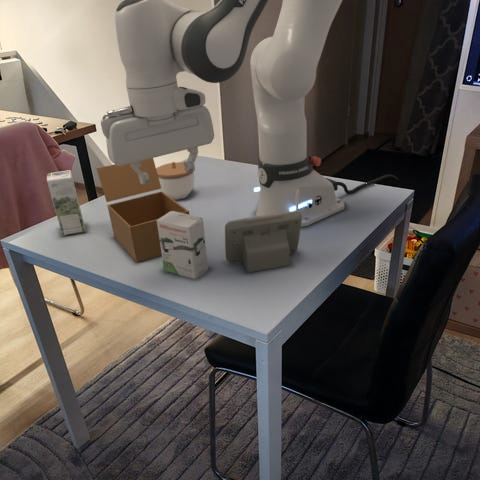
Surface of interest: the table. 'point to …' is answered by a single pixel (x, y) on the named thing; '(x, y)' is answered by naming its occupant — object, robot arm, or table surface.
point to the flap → (127, 180)
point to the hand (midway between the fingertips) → (168, 177)
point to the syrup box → (66, 202)
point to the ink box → (182, 244)
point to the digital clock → (263, 240)
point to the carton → (141, 223)
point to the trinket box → (175, 180)
